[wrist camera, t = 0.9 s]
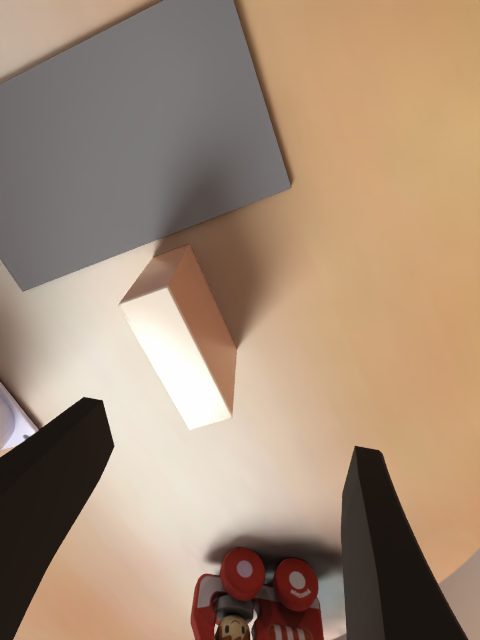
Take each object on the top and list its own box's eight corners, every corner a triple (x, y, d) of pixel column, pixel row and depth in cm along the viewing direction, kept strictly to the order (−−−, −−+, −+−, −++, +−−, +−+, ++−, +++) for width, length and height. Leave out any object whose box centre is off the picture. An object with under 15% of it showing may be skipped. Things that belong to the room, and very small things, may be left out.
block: (203, 359, 27) (189, 429, 21) (152, 257, 24) (118, 305, 18) (236, 349, 27) (232, 417, 21) (189, 243, 24) (166, 287, 17)
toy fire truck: (206, 538, 37) (190, 679, 27) (330, 562, 38) (356, 705, 28) (192, 580, 40) (173, 719, 30) (307, 600, 41) (323, 741, 32)
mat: (25, 289, 25) (22, 291, 25) (-83, 129, 21) (-88, 129, 21) (290, 186, 22) (291, 188, 21) (224, -28, 18) (223, -31, 17)
